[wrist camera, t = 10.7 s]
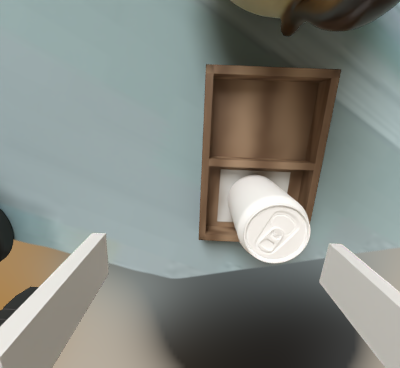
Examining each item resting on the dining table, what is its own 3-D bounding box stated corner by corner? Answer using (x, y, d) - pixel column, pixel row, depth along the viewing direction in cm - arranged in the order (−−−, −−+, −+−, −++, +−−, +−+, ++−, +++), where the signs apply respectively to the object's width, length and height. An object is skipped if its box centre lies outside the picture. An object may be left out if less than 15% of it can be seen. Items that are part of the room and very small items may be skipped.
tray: (199, 229, 36) (198, 239, 33) (205, 71, 30) (206, 64, 26) (295, 233, 36) (305, 244, 33) (325, 76, 29) (341, 69, 26)
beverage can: (287, 191, 33) (331, 225, 22) (256, 228, 35) (282, 279, 24) (247, 163, 32) (271, 184, 21) (217, 204, 34) (224, 244, 23)
